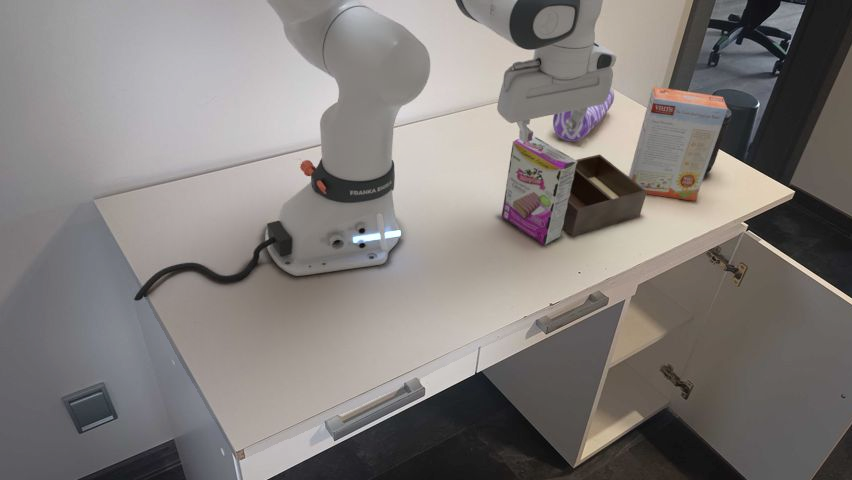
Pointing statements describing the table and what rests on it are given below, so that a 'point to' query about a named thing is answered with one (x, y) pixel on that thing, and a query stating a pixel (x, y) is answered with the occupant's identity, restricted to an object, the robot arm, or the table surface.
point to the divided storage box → (601, 196)
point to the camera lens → (719, 141)
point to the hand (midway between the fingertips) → (548, 134)
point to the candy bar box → (538, 189)
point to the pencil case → (586, 123)
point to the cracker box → (677, 142)
